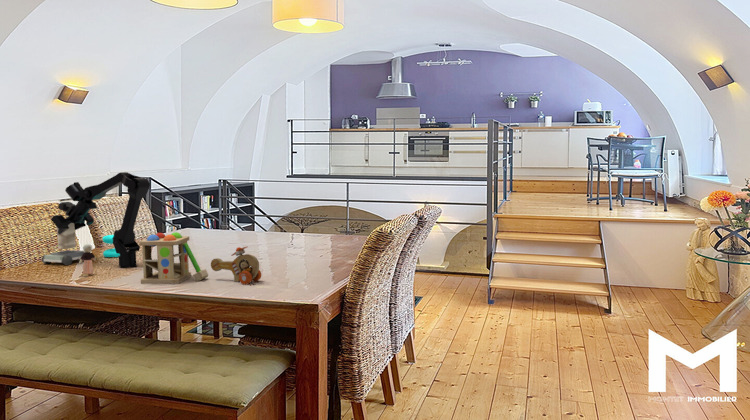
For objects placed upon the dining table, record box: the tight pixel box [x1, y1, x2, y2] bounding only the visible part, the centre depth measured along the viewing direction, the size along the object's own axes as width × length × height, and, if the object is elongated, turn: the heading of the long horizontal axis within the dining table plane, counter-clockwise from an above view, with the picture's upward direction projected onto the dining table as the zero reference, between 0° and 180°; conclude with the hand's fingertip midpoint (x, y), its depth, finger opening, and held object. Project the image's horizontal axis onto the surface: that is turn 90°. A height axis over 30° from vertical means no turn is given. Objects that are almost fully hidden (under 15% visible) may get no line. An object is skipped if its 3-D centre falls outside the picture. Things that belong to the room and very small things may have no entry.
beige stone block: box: [56, 217, 77, 250], centre depth 264 cm, size 5×5×13 cm
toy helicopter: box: [210, 246, 262, 286], centre depth 222 cm, size 8×21×14 cm, turn 68°
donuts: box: [102, 234, 120, 258], centre depth 281 cm, size 10×10×10 cm
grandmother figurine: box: [78, 243, 97, 277], centre depth 235 cm, size 8×4×13 cm, turn 168°
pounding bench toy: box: [138, 231, 209, 284], centre depth 225 cm, size 23×14×18 cm, turn 89°
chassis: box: [41, 249, 85, 266], centre depth 265 cm, size 16×13×4 cm
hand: (63, 232), depth 265 cm, fingers closed on beige stone block, 5 cm apart
